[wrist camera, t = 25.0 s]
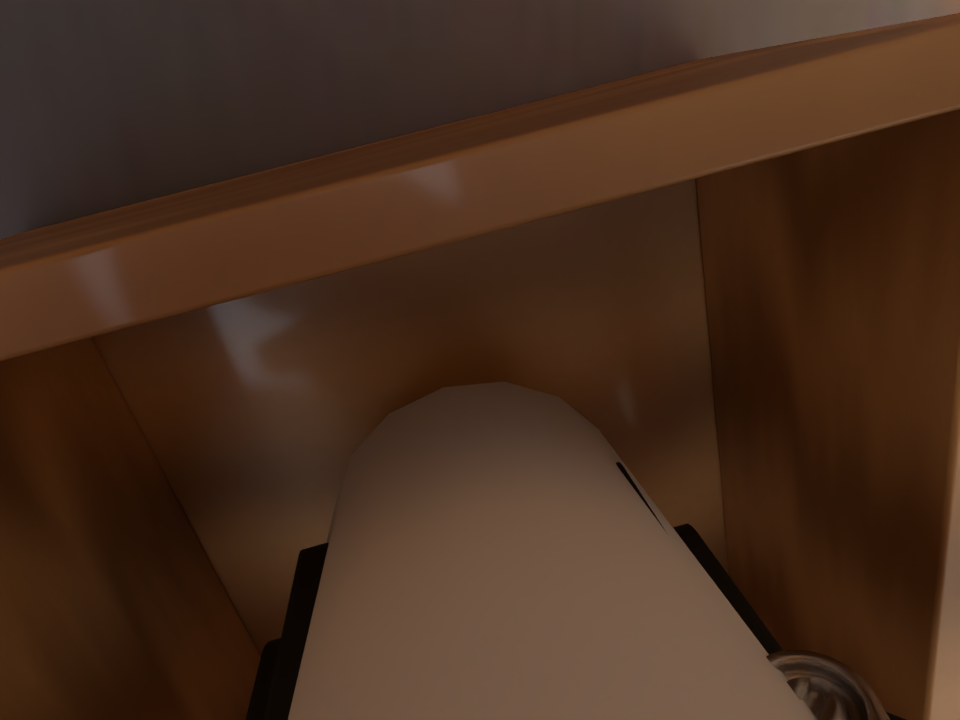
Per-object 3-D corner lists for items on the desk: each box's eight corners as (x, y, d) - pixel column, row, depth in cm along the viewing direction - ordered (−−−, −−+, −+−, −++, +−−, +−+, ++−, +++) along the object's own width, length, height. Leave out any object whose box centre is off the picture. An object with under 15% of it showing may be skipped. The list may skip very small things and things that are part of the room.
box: (17, 233, 12) (-471, 389, 5) (704, 57, 12) (1077, -10, 6) (276, 710, 17) (205, 1084, 11) (742, 576, 18) (952, 852, 11)
